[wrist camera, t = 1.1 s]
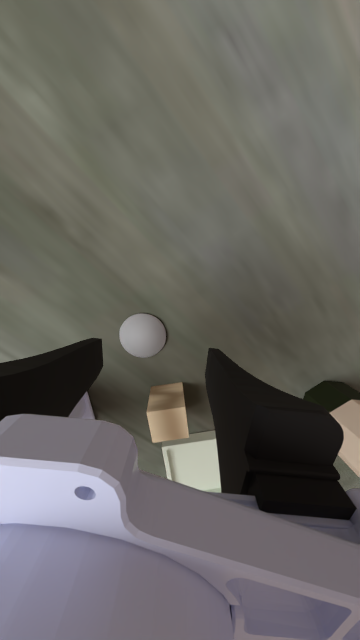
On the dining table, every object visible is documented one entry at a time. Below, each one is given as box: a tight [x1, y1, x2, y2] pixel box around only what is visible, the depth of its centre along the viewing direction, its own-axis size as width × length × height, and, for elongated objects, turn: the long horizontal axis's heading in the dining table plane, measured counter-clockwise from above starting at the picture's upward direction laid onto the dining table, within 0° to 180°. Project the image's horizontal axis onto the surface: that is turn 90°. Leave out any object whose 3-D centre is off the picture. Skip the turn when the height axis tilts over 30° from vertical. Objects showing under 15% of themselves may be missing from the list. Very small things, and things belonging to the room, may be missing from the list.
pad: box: [120, 313, 166, 357], centre depth 23 cm, size 6×6×1 cm
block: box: [147, 382, 189, 443], centre depth 24 cm, size 4×4×5 cm
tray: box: [162, 430, 221, 493], centre depth 29 cm, size 12×12×2 cm
